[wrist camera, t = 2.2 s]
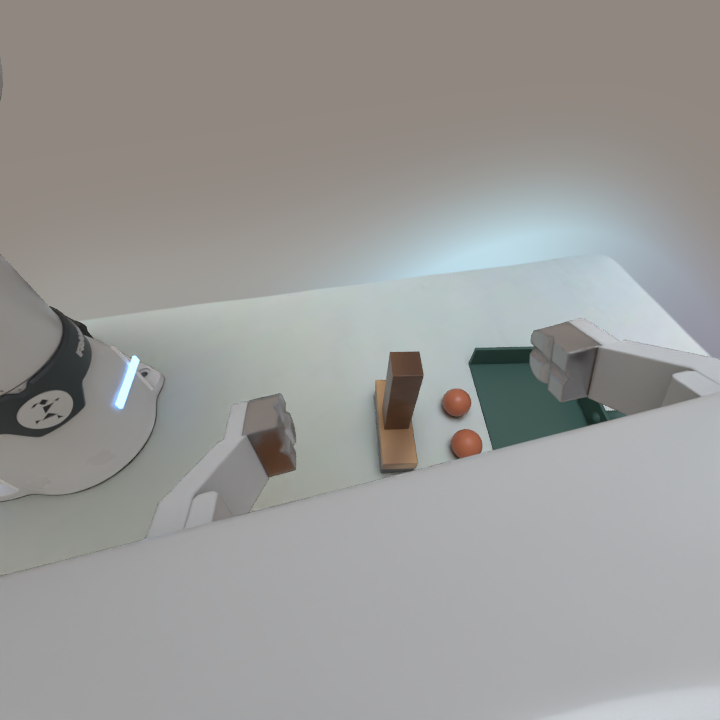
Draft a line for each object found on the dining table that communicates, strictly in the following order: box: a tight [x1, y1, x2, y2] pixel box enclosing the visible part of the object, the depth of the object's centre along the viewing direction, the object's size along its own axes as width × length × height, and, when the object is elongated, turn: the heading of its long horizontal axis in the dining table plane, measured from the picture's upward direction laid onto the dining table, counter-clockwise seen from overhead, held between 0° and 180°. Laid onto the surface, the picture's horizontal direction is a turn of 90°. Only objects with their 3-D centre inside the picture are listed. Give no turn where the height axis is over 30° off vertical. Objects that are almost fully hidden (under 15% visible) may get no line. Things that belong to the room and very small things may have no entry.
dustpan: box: [469, 347, 628, 450], centre depth 41 cm, size 21×19×3 cm
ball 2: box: [451, 429, 482, 458], centre depth 38 cm, size 3×3×3 cm
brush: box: [374, 352, 424, 473], centre depth 36 cm, size 4×10×13 cm, turn 3°
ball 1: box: [443, 389, 471, 416], centre depth 41 cm, size 3×3×3 cm
